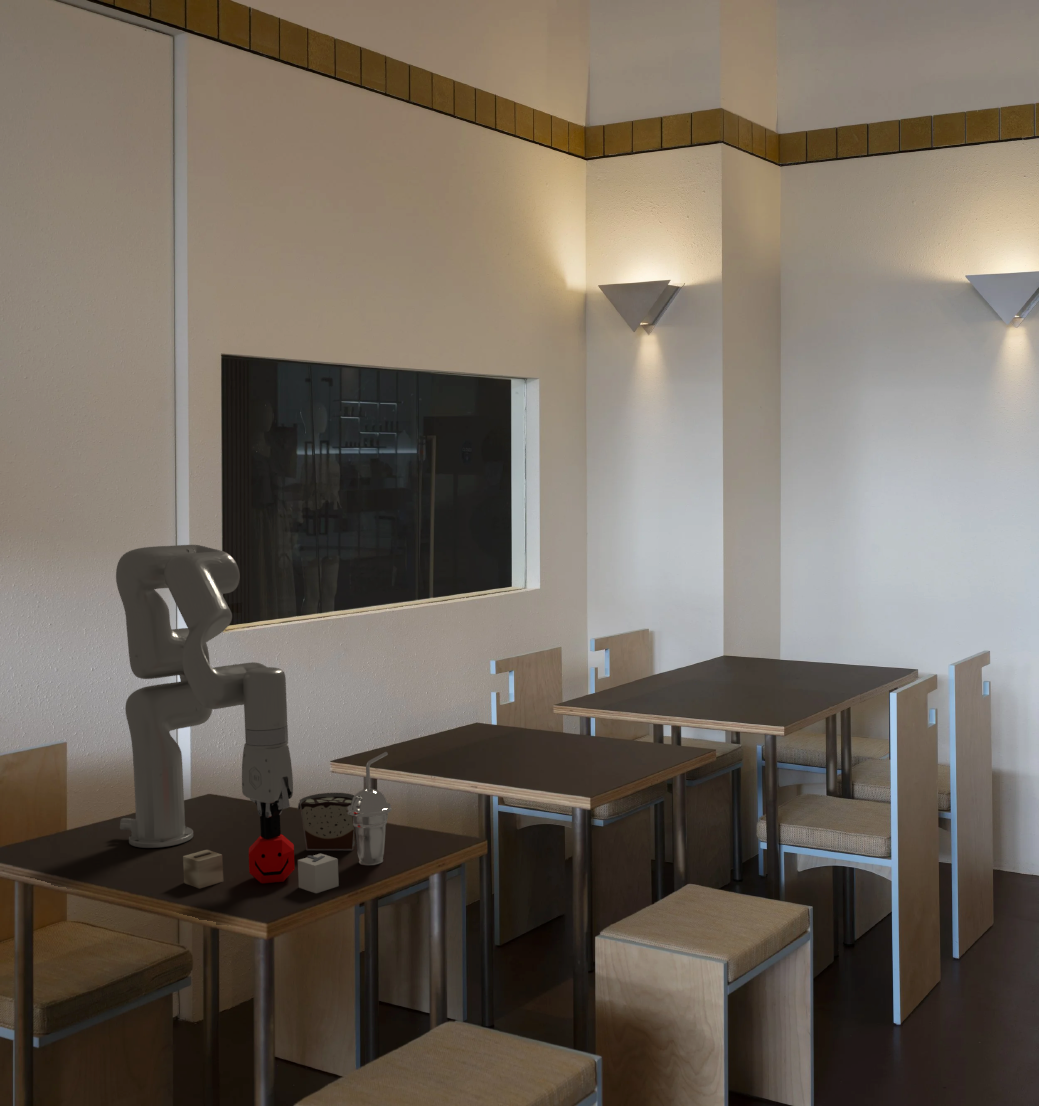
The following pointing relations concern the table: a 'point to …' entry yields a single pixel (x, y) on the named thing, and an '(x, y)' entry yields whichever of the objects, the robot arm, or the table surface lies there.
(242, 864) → the table surface
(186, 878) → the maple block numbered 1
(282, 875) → the ball
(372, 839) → the cup with straw
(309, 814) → the food container
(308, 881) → the off-white block numbered 7
